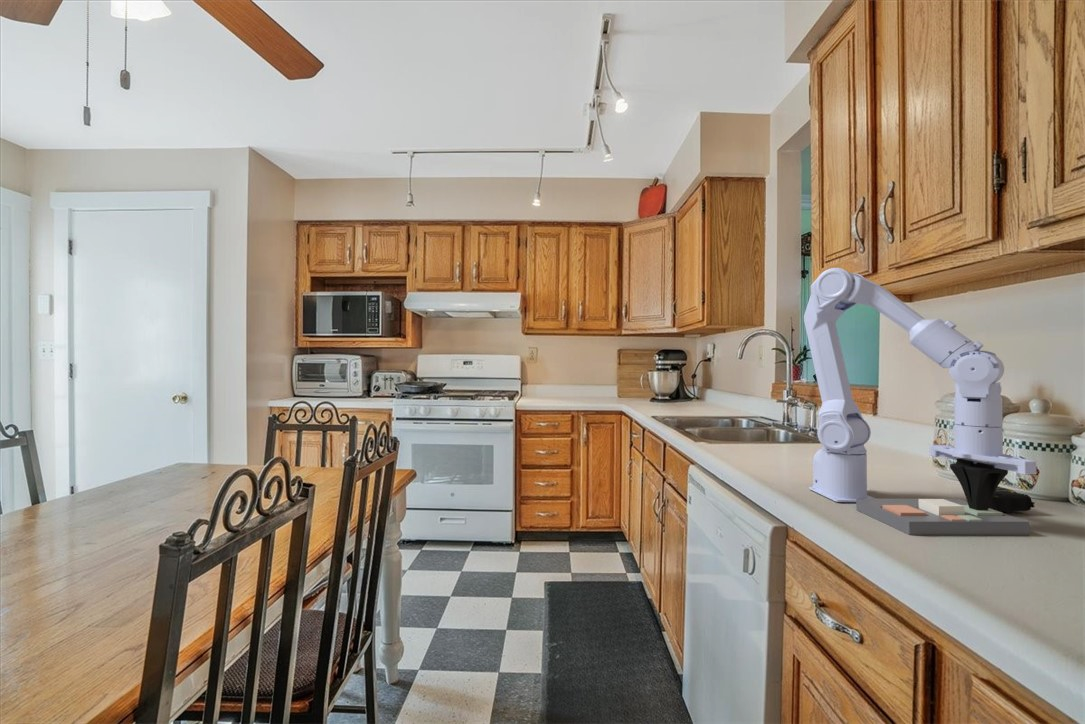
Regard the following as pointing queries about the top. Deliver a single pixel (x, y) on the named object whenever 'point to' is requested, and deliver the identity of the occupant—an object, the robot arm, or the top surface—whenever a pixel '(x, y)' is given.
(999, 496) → the tape measure
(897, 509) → the terracotta key
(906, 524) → the keypad
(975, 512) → the sage key
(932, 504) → the cream key
